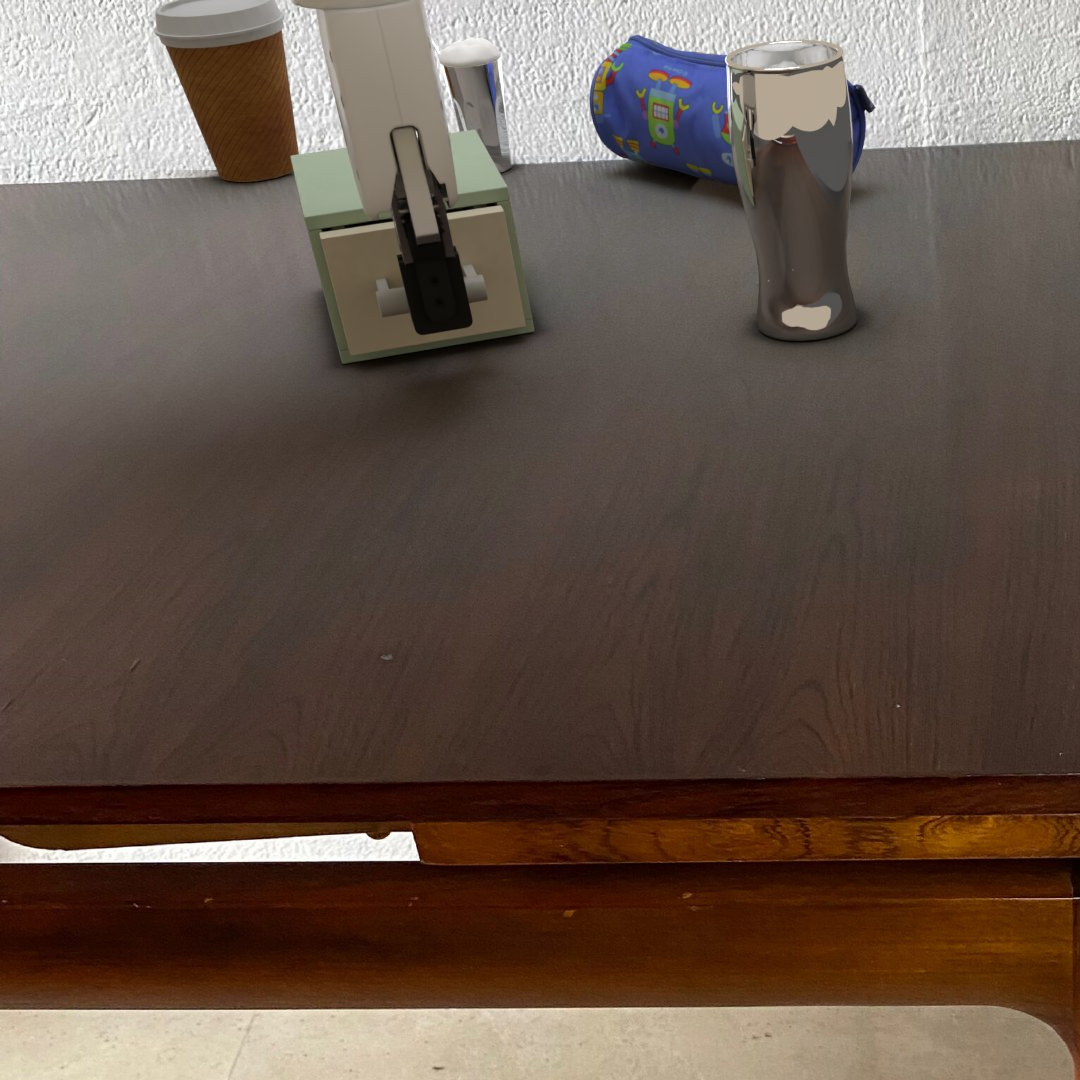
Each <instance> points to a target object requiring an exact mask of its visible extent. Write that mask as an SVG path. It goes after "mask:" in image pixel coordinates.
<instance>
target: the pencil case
mask: <svg viewBox="0 0 1080 1080" xmlns="http://www.w3.org/2000/svg"><path fill="white" fill-rule="evenodd" d="M727 55H728V54H718V53H717V54H716V53H704V52H700V51H691V50H690V51H689V50H680V49H675V48H673V47H670V46H668V45H664V44H663V43H660V42H659V41H656V40H654V39H651V38H648V37H644V36H642V35H640V34H635V35H630V36H629V38H628V39H627V41H626V42H624V43H622V44H621V45H620V46H619V47H617V48H615V49H614V50H613V52H612V53H611V54H610V55H608V56H607V57H605V59H603V60H602V61H601V63H600V64H599V65H598V67H597V68H596V70H595V73H594V75H593V77H592V81H591V84H590V89H589V100H588V101H589V111H590V117H591V120H592V125H593V127H594V129H595V132H596V134H597V136H598V138H599V140H600V141H601V143H602V144H603V145H604V146H605V147H606V149H608V150H609V151H610V152H612V153H613V154H615V155H617V156H618V157H620V158H622V159H625V160H629V161H632V162H635V163H637V164H642V165H643V164H644V165H648V166H655V167H658V168H663V169H668V170H673V171H676V172H679V173H681V174H686V175H688V176H693V177H695V178H699V179H703V180H707V181H714V182H718V183H723V184H725V185H726V184H727V185H730V186H735V187H738V183H737V179H736V174H735V170H734V165H733V159H732V152H731V145H730V137H729V124H728V109H727V76H726V62H725V58H726V56H727ZM847 85H848V93H849V100H850V109H851V119H852V131H853V173H852V175H853V174H854V172H855V171H856V169H857V166H858V164H859V163H860V159H861V157H862V153H863V151H864V146H865V140H866V133H867V131H866V130H867V119H866V112H867V113H868V114H870V113H872V112H873V111H874V110H875V109H876V106H875V105H874V103H873V102H872V100H871V98H869V96H868V93H867V92H866V90H865V88H864V86H863V85H861V84H858V83H856V84H852V83H851V82H850V80H849V79H847Z"/></svg>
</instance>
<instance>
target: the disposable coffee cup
mask: <svg viewBox="0 0 1080 1080" xmlns="http://www.w3.org/2000/svg"><path fill="white" fill-rule="evenodd" d="M285 16H286V15H285V12H284V11H282V10H280V8H279V6H278V4H277V2H276V0H171V1H168V2H166V3H163V4H161V5H159V6H157V7H156V8H155V27H154V28H153V33H154V34H155V36H156V37H158V38H159V41H160V43H161V44H162V45H163V46H165V49H166V51H167V53H168V56H169V58H170V61H171V63H172V66H173V68H174V70H175V73H176V75H177V78H178V80H179V84H180V85H181V87H182V90H183V92H184V94H185V97H186V99H187V102H188V104H189V107H190V109H191V111H192V114H193V117H194V119H195V120H196V124H197V126H198V128H199V131H200V133H201V135H202V137H203V141H204V143H205V145H206V147H207V150H208V152H209V154H210V157H211V159H212V163H213V164H214V167H215V169H216V172H217V175H218V177H219V178H220V179H222V180H223V181H229V182H235V183H252V182H259V181H265V180H273V179H277V178H279V177H283V176H286V175H288V174H289V175H290V174H291V173H294V171H293V166H292V162H291V156H292V155H299V153H300V151H299V145H298V138H297V131H296V124H295V123H296V122H295V115H294V109H293V101H292V93H291V87H290V79H289V74H288V73H289V72H288V65H287V58H286V52H285V45H284V38H283V36H284V35H283V29H284V26H285V25H284V20H285Z"/></svg>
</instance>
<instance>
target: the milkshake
mask: <svg viewBox="0 0 1080 1080" xmlns="http://www.w3.org/2000/svg"><path fill="white" fill-rule="evenodd" d="M431 39H432V44H433V49H434V51H435V52H436V53H437V55H438V62H439V65H440V68H441V73H442V76H443V79H444V82H445V86H446V89H447V93H448V95H449V98H450V102H451V106H452V108H453V112H454V115H455V116H454V117H455V119H456V123H457V127H458V132H461V131H468V130H476V132H477V134H478V135H479V137H480V139H481V141H482V142H483V144H484V146H485V148H486V150H487V151H488V153H489V155H490V157H491V158H492V160H493V162H494V164H495V166H496V167H497V169H498V171H499V173H500V174H502V173H504V172H506V171H509V170H510V169H512V157H511V148H510V147H511V146H510V139H509V131H508V121H507V113H506V106H505V88H504V77H503V66H502V54H501V50H500V49H499V48H498V47H497V46H496V45H495V44H493V43H492V41H490V40H488V39H486V38H485V37H473V36H470V37H467V38H466V39H464V40H460V41H458V40H457V41H454V42H452V43H451V44H450V45H448V46H446V47H444V48H443V49H442V51H440V49H439V48H438V46H437V44H436V43H435V41H434V39H433V37H432V36H431Z"/></svg>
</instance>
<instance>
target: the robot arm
mask: <svg viewBox="0 0 1080 1080" xmlns="http://www.w3.org/2000/svg"><path fill="white" fill-rule="evenodd" d="M290 1H291V3H292V4H293V5H294V6H297V7H298V6H299V7H301V8H304V9H311V10H315V12H316V18H317V23H318V29H319V36H320V40H321V45H322V49H323V50H322V51H323V55H324V59H325V64H326V70H327V73H328V78H329V82H330V87H331V90H332V95H333V98H334V101H335V106H336V110H337V115H338V118H339V123H340V126H341V130H342V135H343V139H344V143H345V146H346V147H345V148H347V151H348V155H349V159H350V163H351V167H352V171H353V175H354V179H355V183H356V186H357V190H358V194H359V197H360V200H361V204H362V207H363V210H364V212H365V214H366V215H367V216H369V217H370V218H372V219H373V220H380V219H379V214H378V213H384V212H390V211H391V216H392V220H393V224H394V228H395V232H396V237H397V241H398V245H399V249H400V252H401V253H402V254H399V255H397V259H398V263H399V268H400V272H401V276H402V280H403V284H404V289H405V293H406V297H407V301H408V306H409V310H410V314H411V318H412V322H413V325H414V328H415V331H416V332H417V333H418V334H419V335H427V334H433V333H439V332H445V331H451V330H457V329H463V328H468V327H470V326H471V325H472V323H473V319H472V314H471V310H470V305H469V300H468V296H467V291H466V286H465V282H464V277H463V272H462V267H461V263H460V258H459V254H458V251H457V250H456V247H455V246H453V242H452V237H451V233H450V228H449V223H448V218H447V213H446V205H445V203H444V202H445V201H446V203H447V206H448V208H449V209H451V208H452V207H453V206H454V205H455V204H456V202H457V201H458V191H457V183H456V176H455V169H454V162H453V155H452V148H451V142H450V135H449V133H450V130H449V123H448V118H447V113H446V106H445V101H444V96H443V90H442V86H441V79H440V74H439V69H438V64H437V59H436V55H435V48H434V47H433V44H432V39H433V38H432V39H431V37H432V34H431V29H430V25H429V20H428V16H427V10H426V5H425V1H424V0H290ZM422 158H423V159H422Z"/></svg>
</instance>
